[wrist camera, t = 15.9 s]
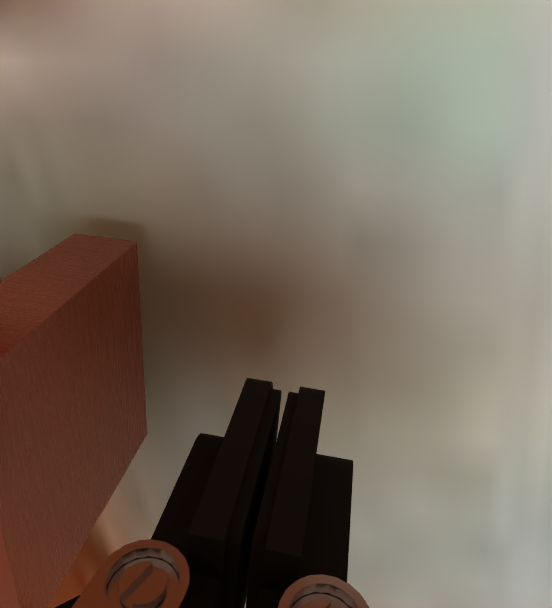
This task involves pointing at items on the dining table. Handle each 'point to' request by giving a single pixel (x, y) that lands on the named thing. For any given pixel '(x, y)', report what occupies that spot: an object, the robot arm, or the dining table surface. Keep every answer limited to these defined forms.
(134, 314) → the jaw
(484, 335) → the dining table surface
